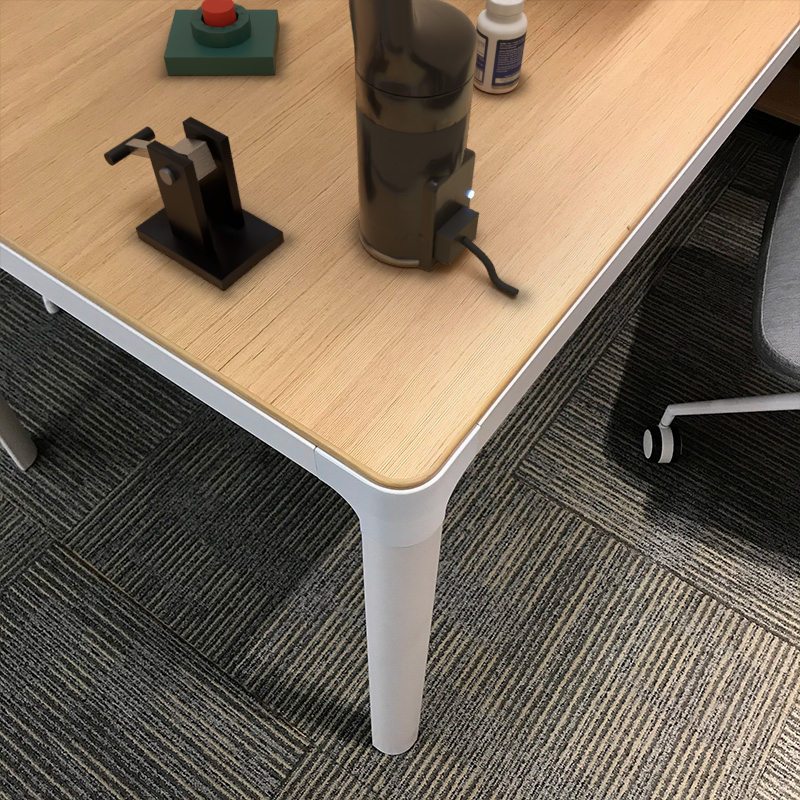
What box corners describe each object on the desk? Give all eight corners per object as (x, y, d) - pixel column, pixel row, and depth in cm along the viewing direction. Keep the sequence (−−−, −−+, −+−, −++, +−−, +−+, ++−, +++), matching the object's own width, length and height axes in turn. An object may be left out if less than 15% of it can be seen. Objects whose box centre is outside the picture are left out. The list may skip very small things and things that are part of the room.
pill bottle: (524, 74, 88) (539, -12, 80) (509, 100, 85) (523, 13, 77) (480, 63, 89) (490, -23, 81) (464, 87, 86) (472, 1, 78)
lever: (111, 171, 69) (98, 146, 67) (152, 143, 71) (141, 119, 70) (186, 190, 63) (174, 163, 61) (229, 159, 65) (218, 133, 64)
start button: (237, 11, 87) (235, -4, 86) (235, 28, 85) (232, 13, 84) (205, 11, 87) (203, -4, 86) (202, 28, 85) (199, 13, 84)
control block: (279, 27, 92) (275, -7, 89) (275, 75, 87) (270, 41, 83) (179, 27, 92) (171, -7, 89) (168, 75, 86) (159, 41, 83)
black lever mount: (138, 237, 71) (103, 138, 63) (200, 192, 75) (176, 93, 66) (223, 291, 68) (200, 194, 59) (284, 241, 72) (270, 143, 63)
